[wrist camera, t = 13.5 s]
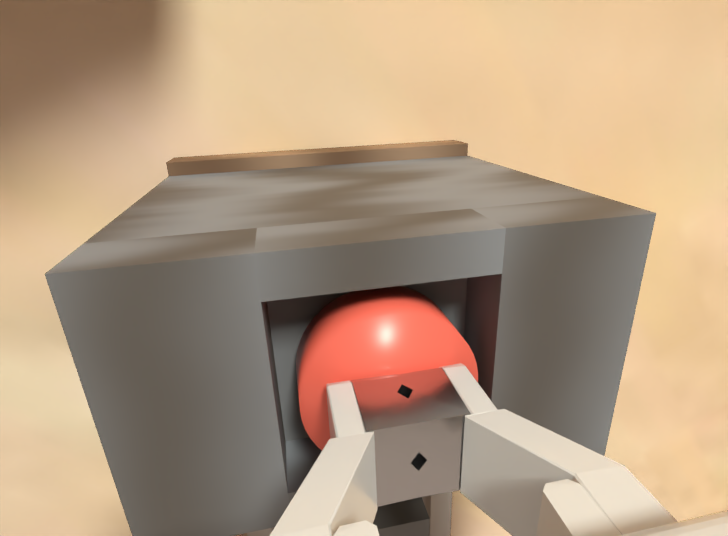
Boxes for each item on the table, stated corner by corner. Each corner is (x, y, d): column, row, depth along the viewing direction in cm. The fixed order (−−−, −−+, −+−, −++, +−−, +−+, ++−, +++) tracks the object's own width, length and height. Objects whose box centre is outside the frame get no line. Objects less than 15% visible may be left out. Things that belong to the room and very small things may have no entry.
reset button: (456, 275, 11) (483, 302, 9) (450, 410, 12) (473, 451, 11) (287, 295, 10) (290, 327, 8) (303, 435, 11) (308, 481, 10)
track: (460, 140, 20) (673, 189, 9) (441, 589, 31) (527, 837, 21) (174, 157, 18) (35, 246, 7) (266, 631, 29) (264, 929, 19)
